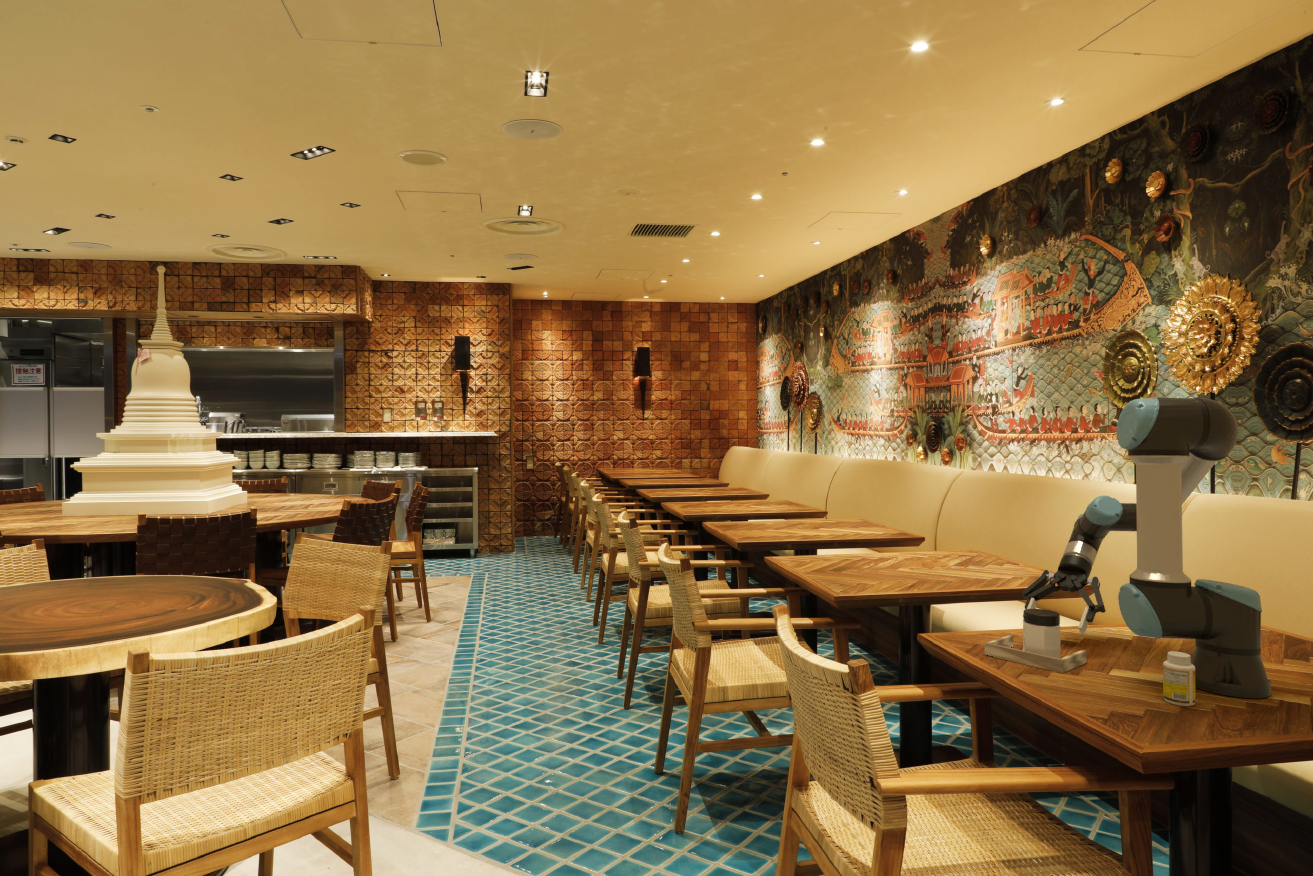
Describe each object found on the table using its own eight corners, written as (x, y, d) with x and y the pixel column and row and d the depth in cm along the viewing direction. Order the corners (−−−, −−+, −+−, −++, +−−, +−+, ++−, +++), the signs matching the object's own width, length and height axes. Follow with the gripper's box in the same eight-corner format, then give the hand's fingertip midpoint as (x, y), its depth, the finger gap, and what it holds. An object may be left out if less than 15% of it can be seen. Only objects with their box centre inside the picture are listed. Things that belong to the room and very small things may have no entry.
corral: (1009, 646, 198) (1009, 634, 198) (1086, 662, 184) (1086, 650, 184) (984, 655, 190) (984, 643, 190) (1062, 673, 175) (1062, 660, 175)
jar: (1021, 653, 191) (1021, 607, 191) (1056, 657, 188) (1056, 609, 188) (1025, 663, 183) (1025, 614, 183) (1062, 667, 180) (1062, 617, 180)
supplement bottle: (1180, 697, 159) (1180, 649, 159) (1202, 707, 153) (1202, 657, 153) (1156, 698, 158) (1156, 650, 158) (1177, 707, 153) (1177, 658, 153)
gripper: (1132, 577, 195) (1110, 644, 185) (1034, 564, 214) (1009, 624, 205) (1124, 559, 191) (1101, 626, 182) (1026, 548, 211) (1000, 608, 201)
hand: (1053, 625), depth 193 cm, fingers open, 13 cm apart
